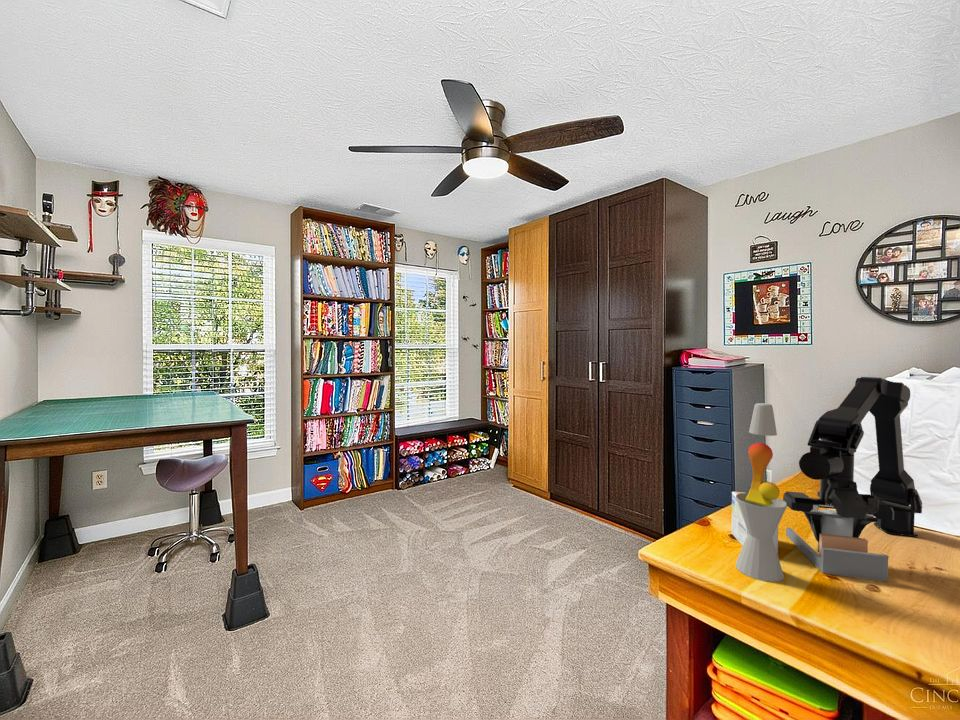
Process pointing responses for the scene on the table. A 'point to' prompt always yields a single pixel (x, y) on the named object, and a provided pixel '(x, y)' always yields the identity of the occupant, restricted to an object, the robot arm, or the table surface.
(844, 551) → the pusher lane
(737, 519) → the light bulb box
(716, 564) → the table surface
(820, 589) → the table surface
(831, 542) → the plate
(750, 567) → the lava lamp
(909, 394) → the robot arm
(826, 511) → the jar
